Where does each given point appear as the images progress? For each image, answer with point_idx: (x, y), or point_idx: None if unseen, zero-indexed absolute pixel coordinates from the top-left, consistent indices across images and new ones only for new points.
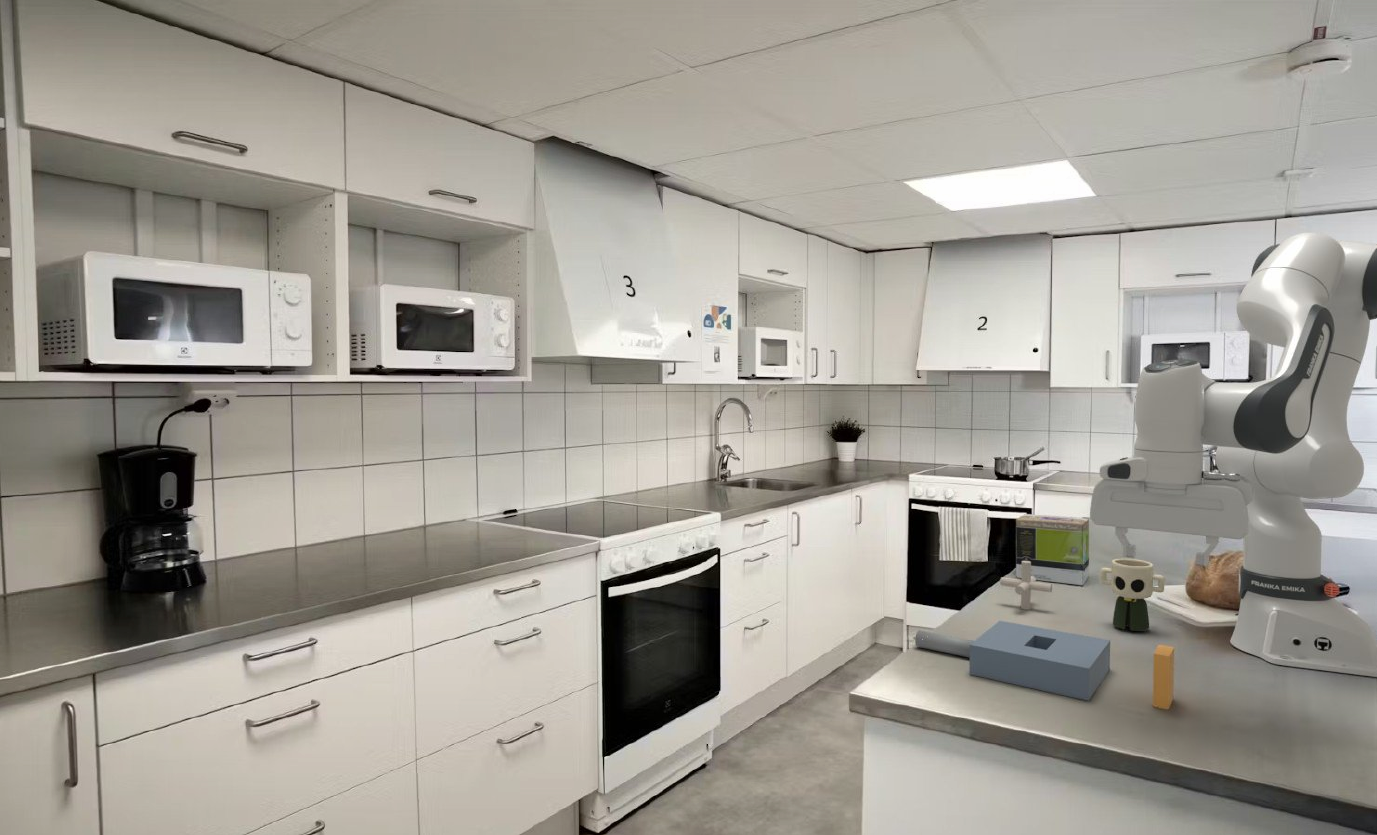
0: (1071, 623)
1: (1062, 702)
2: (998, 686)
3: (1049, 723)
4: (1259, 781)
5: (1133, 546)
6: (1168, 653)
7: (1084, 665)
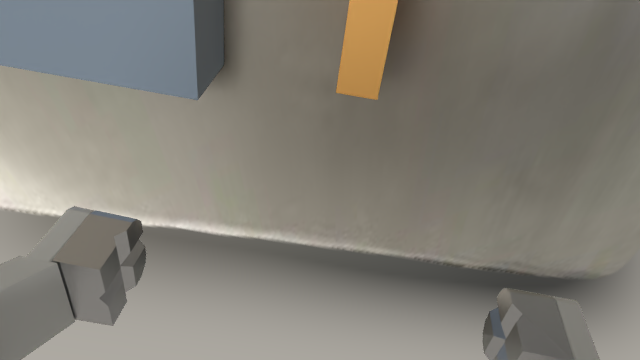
0: None
1: None
2: None
3: (192, 192)
4: (485, 265)
5: (105, 314)
6: (376, 73)
7: (182, 83)
